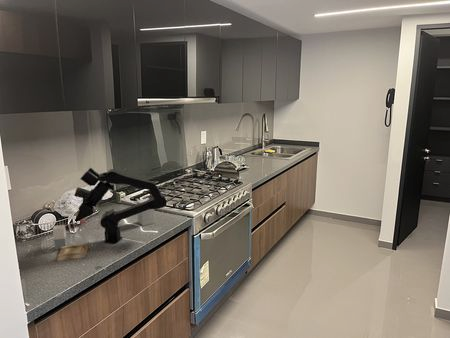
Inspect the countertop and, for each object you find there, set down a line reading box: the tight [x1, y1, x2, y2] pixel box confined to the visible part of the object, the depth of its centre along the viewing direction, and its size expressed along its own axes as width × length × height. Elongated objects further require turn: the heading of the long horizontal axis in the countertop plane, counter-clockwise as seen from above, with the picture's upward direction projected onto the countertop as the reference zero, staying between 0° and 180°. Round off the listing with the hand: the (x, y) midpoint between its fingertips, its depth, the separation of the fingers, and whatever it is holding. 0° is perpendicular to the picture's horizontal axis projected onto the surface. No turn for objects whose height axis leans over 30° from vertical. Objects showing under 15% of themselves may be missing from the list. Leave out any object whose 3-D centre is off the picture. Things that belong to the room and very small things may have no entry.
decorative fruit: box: [74, 210, 87, 225], centre depth 184 cm, size 9×8×10 cm
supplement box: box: [136, 197, 156, 227], centre depth 185 cm, size 7×7×13 cm
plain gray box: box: [52, 224, 69, 251], centre depth 157 cm, size 4×4×10 cm
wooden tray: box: [57, 243, 89, 262], centre depth 151 cm, size 11×11×2 cm
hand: (76, 217), depth 157 cm, fingers open, 9 cm apart
